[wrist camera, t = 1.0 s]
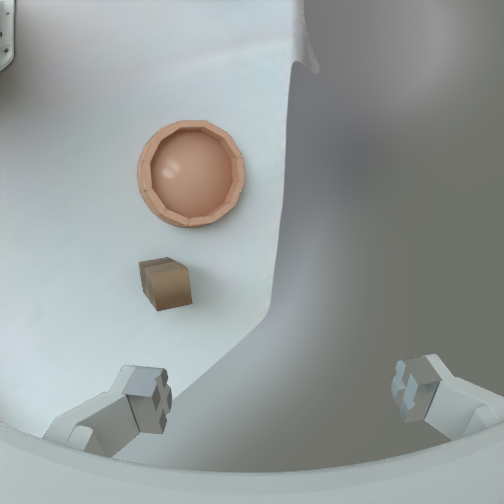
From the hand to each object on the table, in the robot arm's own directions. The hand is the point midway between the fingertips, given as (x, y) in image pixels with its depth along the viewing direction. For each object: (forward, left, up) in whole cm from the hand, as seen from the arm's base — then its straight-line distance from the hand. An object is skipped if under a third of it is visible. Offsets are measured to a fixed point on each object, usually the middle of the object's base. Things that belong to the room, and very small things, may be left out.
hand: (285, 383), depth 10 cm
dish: (-10, +10, -38) cm, 40 cm away
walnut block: (+4, +3, -38) cm, 38 cm away
